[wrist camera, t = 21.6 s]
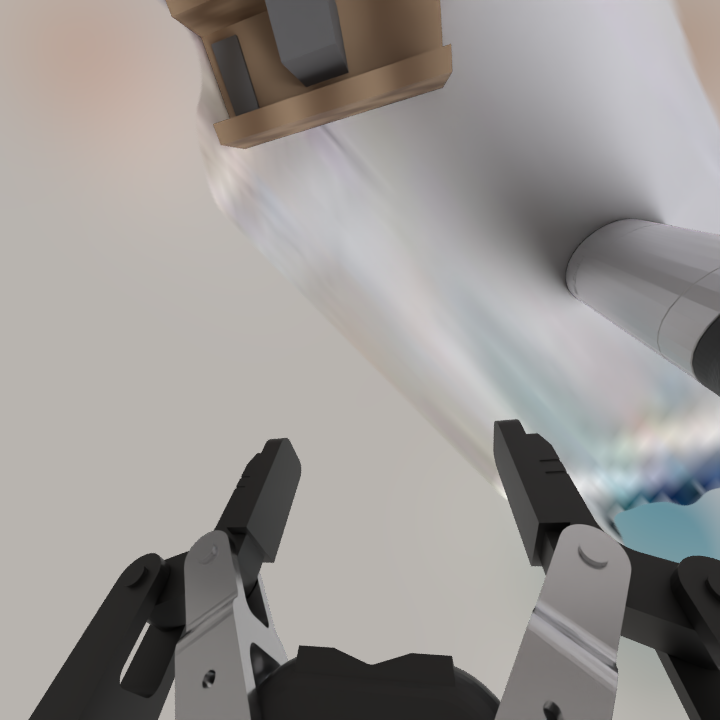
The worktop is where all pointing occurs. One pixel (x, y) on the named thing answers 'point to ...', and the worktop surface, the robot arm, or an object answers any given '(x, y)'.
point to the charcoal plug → (308, 38)
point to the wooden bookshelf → (325, 99)
